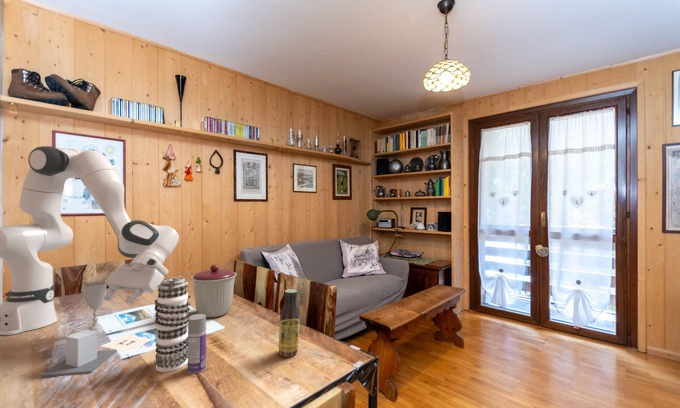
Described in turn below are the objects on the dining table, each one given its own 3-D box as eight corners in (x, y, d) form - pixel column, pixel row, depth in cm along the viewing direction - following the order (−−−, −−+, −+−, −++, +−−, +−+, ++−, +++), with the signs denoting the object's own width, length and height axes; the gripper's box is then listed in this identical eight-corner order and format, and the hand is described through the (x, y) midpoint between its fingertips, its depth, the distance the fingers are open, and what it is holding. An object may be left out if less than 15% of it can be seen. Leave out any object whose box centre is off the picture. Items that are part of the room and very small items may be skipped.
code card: (100, 346, 96) (100, 346, 96) (127, 335, 105) (127, 334, 105) (126, 352, 92) (126, 351, 92) (152, 339, 101) (152, 339, 101)
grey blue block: (65, 364, 84) (66, 336, 84) (85, 355, 89) (85, 329, 89) (77, 367, 83) (78, 339, 83) (97, 358, 87) (97, 331, 87)
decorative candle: (157, 358, 89) (158, 276, 89) (191, 353, 92) (192, 274, 92) (150, 375, 80) (150, 284, 80) (187, 369, 83) (188, 281, 83)
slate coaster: (41, 377, 79) (41, 374, 79) (73, 355, 91) (73, 352, 91) (91, 373, 81) (91, 370, 81) (116, 352, 93) (116, 349, 93)
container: (201, 362, 87) (201, 312, 87) (208, 368, 84) (209, 316, 84) (184, 369, 83) (185, 317, 83) (192, 375, 80) (192, 321, 80)
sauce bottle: (279, 359, 89) (279, 294, 89) (277, 349, 95) (278, 288, 95) (300, 356, 91) (301, 292, 91) (298, 347, 97) (298, 287, 97)
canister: (180, 319, 119) (181, 268, 119) (208, 304, 136) (208, 259, 136) (221, 323, 115) (221, 270, 115) (244, 307, 133) (244, 261, 133)
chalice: (92, 337, 102) (92, 286, 102) (77, 335, 104) (77, 285, 104) (112, 329, 110) (113, 281, 110) (97, 327, 111) (98, 280, 111)
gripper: (118, 258, 106) (87, 293, 96) (161, 262, 99) (133, 299, 90) (130, 268, 110) (102, 302, 100) (172, 272, 104) (146, 309, 94)
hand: (117, 301), depth 95 cm, fingers open, 8 cm apart
